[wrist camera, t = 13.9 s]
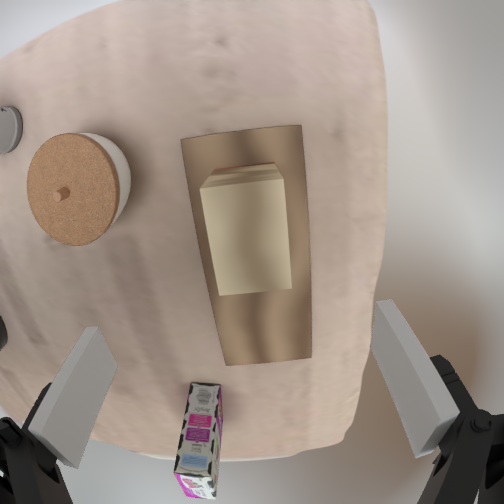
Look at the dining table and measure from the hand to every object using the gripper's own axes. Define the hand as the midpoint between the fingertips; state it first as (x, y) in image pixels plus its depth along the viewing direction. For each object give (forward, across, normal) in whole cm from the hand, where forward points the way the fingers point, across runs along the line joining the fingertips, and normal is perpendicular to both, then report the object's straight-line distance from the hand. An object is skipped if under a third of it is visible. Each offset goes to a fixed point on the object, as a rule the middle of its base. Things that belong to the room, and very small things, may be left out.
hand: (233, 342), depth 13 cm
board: (+21, +1, -7) cm, 22 cm away
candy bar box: (+21, -10, -32) cm, 39 cm away
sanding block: (+20, +1, 0) cm, 20 cm away
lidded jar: (+21, -15, +6) cm, 27 cm away
